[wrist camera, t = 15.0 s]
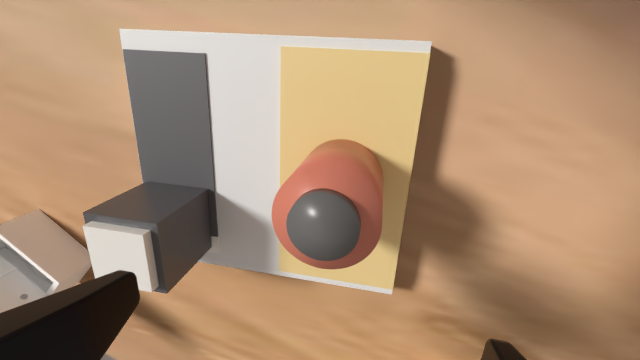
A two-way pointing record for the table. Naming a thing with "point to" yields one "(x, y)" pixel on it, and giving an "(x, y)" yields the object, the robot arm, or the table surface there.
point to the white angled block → (37, 259)
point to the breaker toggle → (150, 233)
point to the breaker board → (274, 130)
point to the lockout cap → (331, 206)
